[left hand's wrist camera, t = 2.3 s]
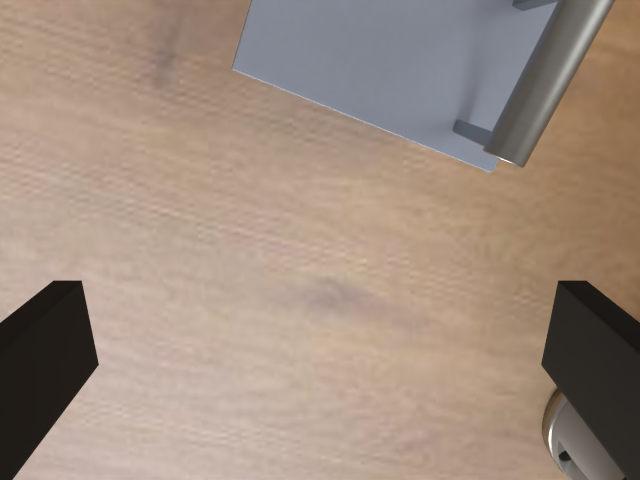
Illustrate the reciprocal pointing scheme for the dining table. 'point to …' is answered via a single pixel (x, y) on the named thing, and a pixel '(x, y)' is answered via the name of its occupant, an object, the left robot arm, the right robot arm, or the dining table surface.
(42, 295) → the left robot arm
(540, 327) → the dining table surface
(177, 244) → the dining table surface
